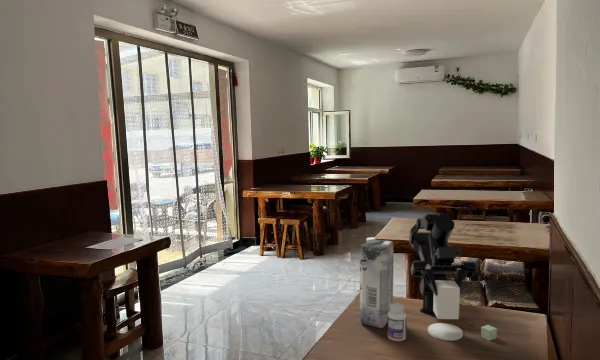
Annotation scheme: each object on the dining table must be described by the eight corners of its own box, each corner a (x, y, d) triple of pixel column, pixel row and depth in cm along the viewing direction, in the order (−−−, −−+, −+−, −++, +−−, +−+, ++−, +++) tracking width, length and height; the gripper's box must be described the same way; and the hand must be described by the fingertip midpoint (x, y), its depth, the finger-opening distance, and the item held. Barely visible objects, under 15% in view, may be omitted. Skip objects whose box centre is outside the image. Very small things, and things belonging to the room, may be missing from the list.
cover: (433, 310, 139) (434, 280, 137) (453, 310, 138) (454, 280, 137) (437, 318, 133) (438, 287, 132) (458, 319, 132) (459, 287, 131)
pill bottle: (394, 331, 138) (394, 300, 136) (409, 337, 134) (410, 305, 132) (383, 337, 134) (384, 305, 133) (399, 343, 130) (399, 311, 129)
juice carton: (394, 317, 147) (395, 236, 144) (384, 330, 138) (386, 244, 135) (368, 312, 151) (369, 233, 148) (357, 325, 142) (357, 240, 139)
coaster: (421, 332, 137) (421, 329, 137) (439, 322, 143) (439, 320, 143) (451, 344, 129) (451, 341, 129) (469, 333, 136) (469, 330, 136)
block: (480, 336, 134) (481, 326, 134) (487, 334, 135) (488, 324, 135) (489, 340, 131) (489, 330, 131) (496, 338, 133) (496, 328, 132)
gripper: (413, 234, 137) (419, 283, 128) (476, 235, 136) (487, 284, 126) (408, 252, 146) (413, 299, 136) (467, 253, 145) (477, 300, 135)
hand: (447, 295), depth 133 cm, fingers closed on cover, 6 cm apart
